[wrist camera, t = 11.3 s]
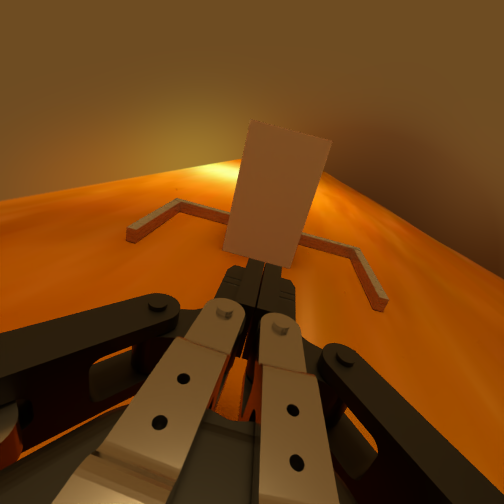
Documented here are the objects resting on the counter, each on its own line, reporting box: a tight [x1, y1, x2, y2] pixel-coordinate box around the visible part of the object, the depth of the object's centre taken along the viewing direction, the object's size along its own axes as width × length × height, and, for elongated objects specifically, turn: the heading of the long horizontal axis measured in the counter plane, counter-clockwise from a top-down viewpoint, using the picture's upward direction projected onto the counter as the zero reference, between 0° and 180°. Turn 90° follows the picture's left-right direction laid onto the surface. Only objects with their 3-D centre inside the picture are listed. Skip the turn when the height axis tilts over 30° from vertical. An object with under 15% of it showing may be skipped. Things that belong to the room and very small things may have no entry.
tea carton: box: [222, 119, 332, 269], centre depth 33 cm, size 8×8×14 cm
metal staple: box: [126, 198, 389, 312], centre depth 35 cm, size 27×14×2 cm, turn 82°
